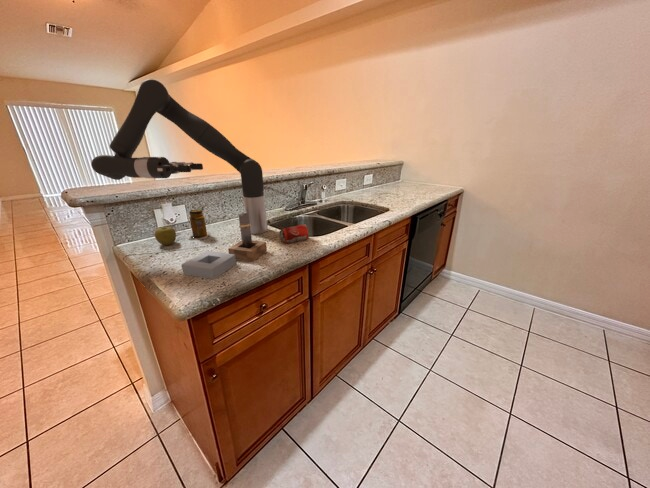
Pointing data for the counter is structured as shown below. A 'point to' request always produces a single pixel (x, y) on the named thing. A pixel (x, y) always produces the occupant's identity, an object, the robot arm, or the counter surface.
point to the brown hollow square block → (248, 251)
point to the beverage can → (294, 233)
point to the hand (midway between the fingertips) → (196, 167)
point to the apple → (165, 235)
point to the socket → (209, 264)
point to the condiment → (198, 224)
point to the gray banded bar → (245, 230)
